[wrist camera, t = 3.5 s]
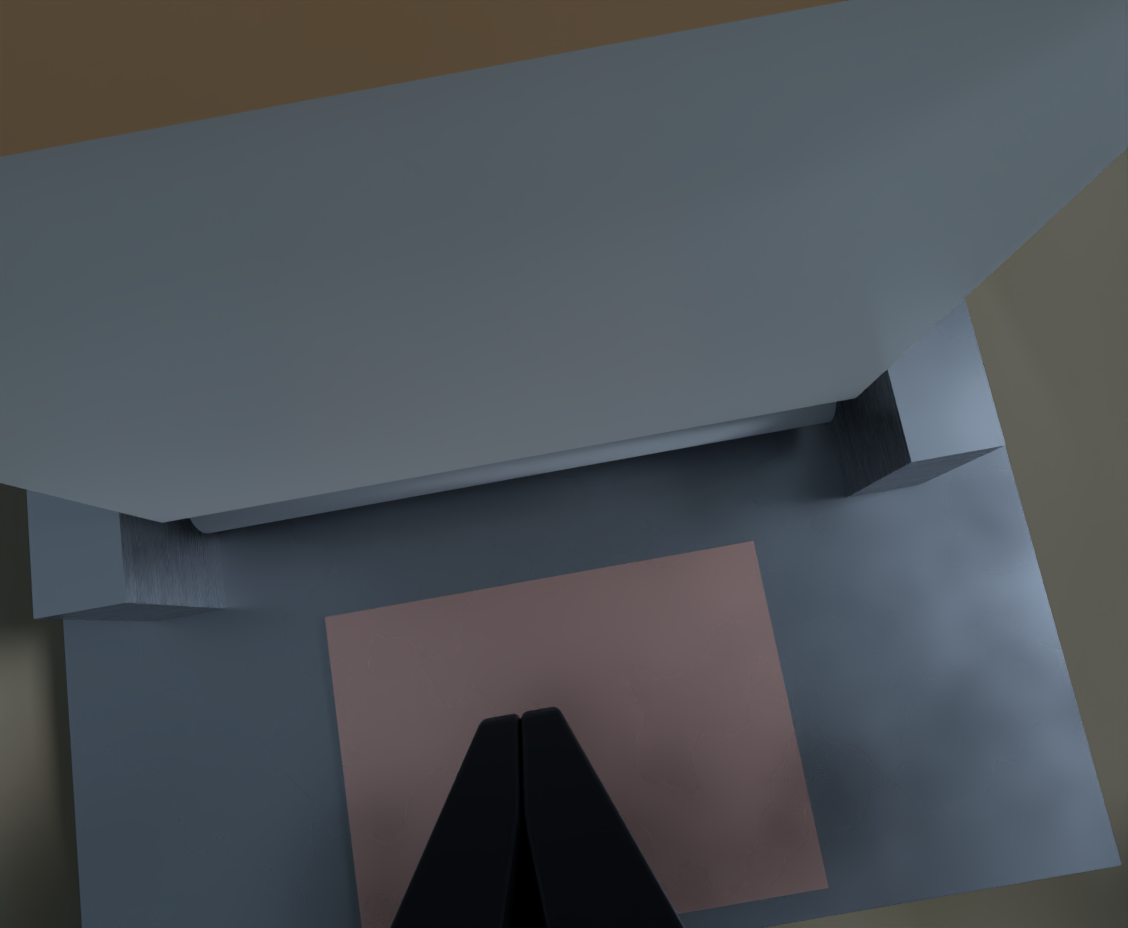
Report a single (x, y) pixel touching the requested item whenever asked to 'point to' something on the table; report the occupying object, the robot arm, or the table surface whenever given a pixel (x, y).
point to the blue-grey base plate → (591, 674)
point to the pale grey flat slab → (497, 227)
